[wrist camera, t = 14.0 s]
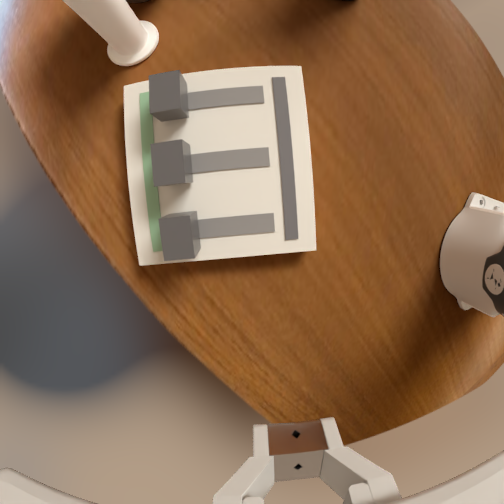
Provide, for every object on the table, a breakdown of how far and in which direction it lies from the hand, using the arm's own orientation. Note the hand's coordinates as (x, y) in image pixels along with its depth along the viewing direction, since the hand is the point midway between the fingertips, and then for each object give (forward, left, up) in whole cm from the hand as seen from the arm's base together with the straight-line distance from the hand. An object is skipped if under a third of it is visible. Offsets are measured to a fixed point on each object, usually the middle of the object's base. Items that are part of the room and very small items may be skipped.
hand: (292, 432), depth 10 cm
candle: (+13, -29, -27) cm, 42 cm away
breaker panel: (+3, -11, -27) cm, 29 cm away
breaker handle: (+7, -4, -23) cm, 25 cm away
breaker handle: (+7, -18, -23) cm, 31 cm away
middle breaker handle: (+7, -11, -23) cm, 27 cm away
